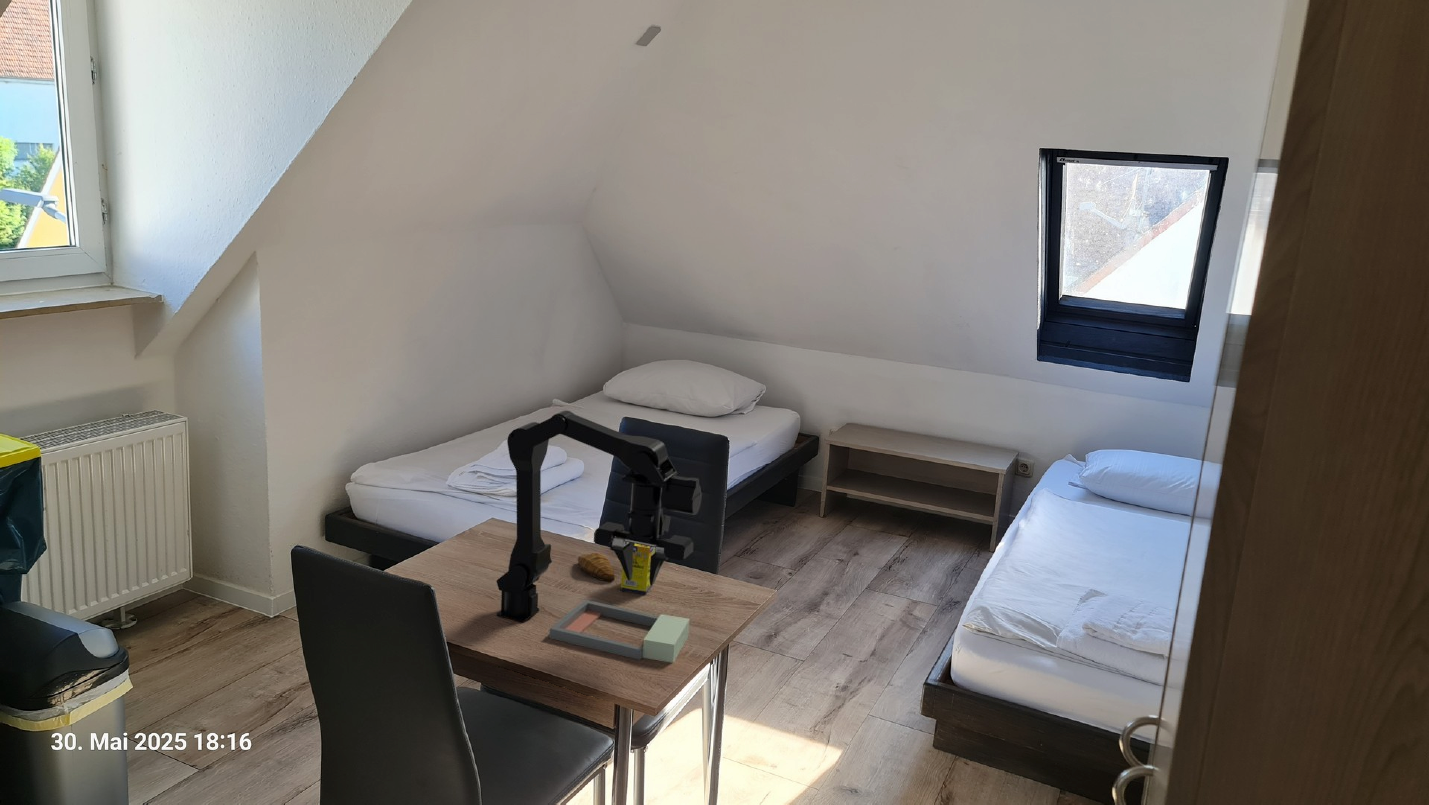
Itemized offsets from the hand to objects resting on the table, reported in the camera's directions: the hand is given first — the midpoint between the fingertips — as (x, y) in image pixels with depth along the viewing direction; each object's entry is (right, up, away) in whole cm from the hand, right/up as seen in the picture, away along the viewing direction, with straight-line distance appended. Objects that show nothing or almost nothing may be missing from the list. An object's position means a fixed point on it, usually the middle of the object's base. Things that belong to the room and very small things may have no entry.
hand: (640, 582), depth 192 cm
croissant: (-13, -4, +34) cm, 36 cm away
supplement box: (-3, -6, +27) cm, 28 cm away
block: (+5, -13, +1) cm, 14 cm away
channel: (-6, -11, +4) cm, 13 cm away
